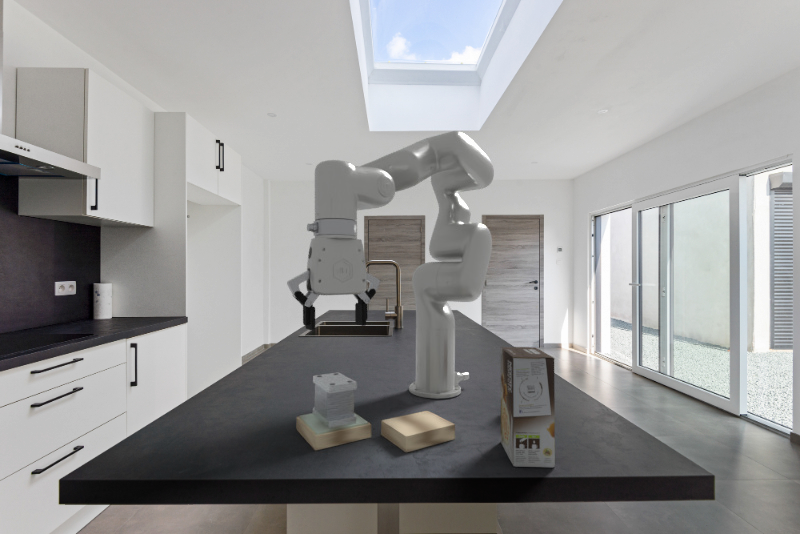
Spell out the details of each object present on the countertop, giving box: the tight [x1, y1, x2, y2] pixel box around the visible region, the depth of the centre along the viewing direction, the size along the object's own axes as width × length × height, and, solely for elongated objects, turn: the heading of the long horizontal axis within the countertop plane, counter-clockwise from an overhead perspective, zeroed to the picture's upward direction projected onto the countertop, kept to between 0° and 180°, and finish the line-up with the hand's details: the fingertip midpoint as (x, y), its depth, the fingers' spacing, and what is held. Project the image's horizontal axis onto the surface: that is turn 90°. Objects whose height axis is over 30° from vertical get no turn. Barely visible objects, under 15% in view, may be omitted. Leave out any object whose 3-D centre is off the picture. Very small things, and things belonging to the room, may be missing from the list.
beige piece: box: [380, 410, 456, 453], centre depth 66 cm, size 10×8×2 cm
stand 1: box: [295, 412, 372, 451], centre depth 68 cm, size 10×10×2 cm
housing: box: [312, 372, 358, 429], centre depth 68 cm, size 8×5×7 cm, turn 32°
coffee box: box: [499, 346, 556, 469], centre depth 61 cm, size 9×6×16 cm
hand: (336, 327), depth 69 cm, fingers open, 9 cm apart
